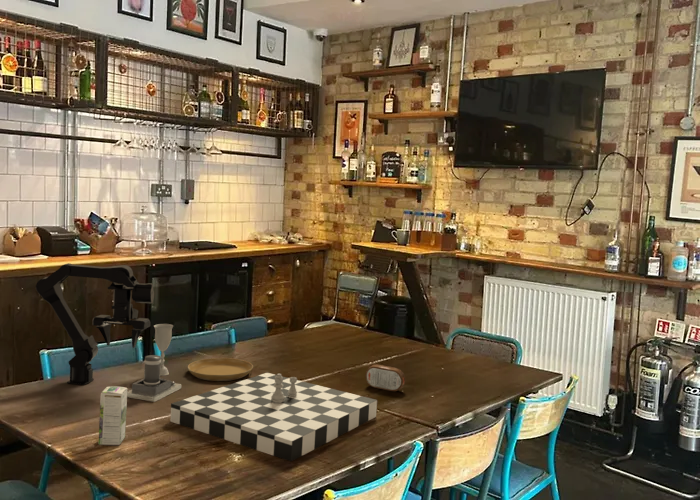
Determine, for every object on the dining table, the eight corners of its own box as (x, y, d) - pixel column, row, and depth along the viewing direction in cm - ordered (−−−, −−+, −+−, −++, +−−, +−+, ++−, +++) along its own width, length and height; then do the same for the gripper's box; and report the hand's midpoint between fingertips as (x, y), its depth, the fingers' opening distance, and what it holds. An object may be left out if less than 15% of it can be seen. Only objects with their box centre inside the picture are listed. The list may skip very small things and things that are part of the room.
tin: (404, 391, 240) (406, 369, 239) (401, 393, 237) (403, 371, 236) (367, 384, 246) (368, 362, 245) (363, 386, 243) (365, 364, 242)
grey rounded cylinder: (143, 391, 217) (144, 359, 217) (143, 387, 222) (144, 355, 221) (159, 391, 219) (161, 359, 218) (159, 386, 224) (160, 355, 223)
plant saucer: (174, 376, 242) (174, 368, 242) (211, 362, 265) (211, 354, 264) (230, 387, 233) (230, 378, 233) (264, 371, 256) (264, 363, 255)
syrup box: (104, 437, 182) (105, 385, 181) (126, 437, 183) (127, 386, 181) (98, 445, 176) (99, 392, 175) (120, 445, 177) (122, 393, 176)
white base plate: (125, 396, 216) (125, 384, 216) (153, 383, 232) (153, 372, 231) (154, 401, 213) (154, 389, 213) (181, 388, 228) (181, 377, 228)
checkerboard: (291, 463, 173) (293, 408, 172) (170, 423, 197) (172, 374, 196) (375, 418, 211) (378, 373, 210) (266, 389, 235) (268, 348, 234)
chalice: (165, 377, 240) (167, 328, 238) (148, 375, 241) (150, 326, 240) (175, 372, 247) (176, 324, 246) (158, 370, 249) (159, 323, 247)
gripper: (157, 300, 235) (156, 343, 236) (108, 296, 237) (107, 339, 238) (144, 305, 224) (142, 350, 225) (92, 301, 226) (91, 346, 227)
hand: (121, 346), depth 229 cm, fingers open, 9 cm apart
